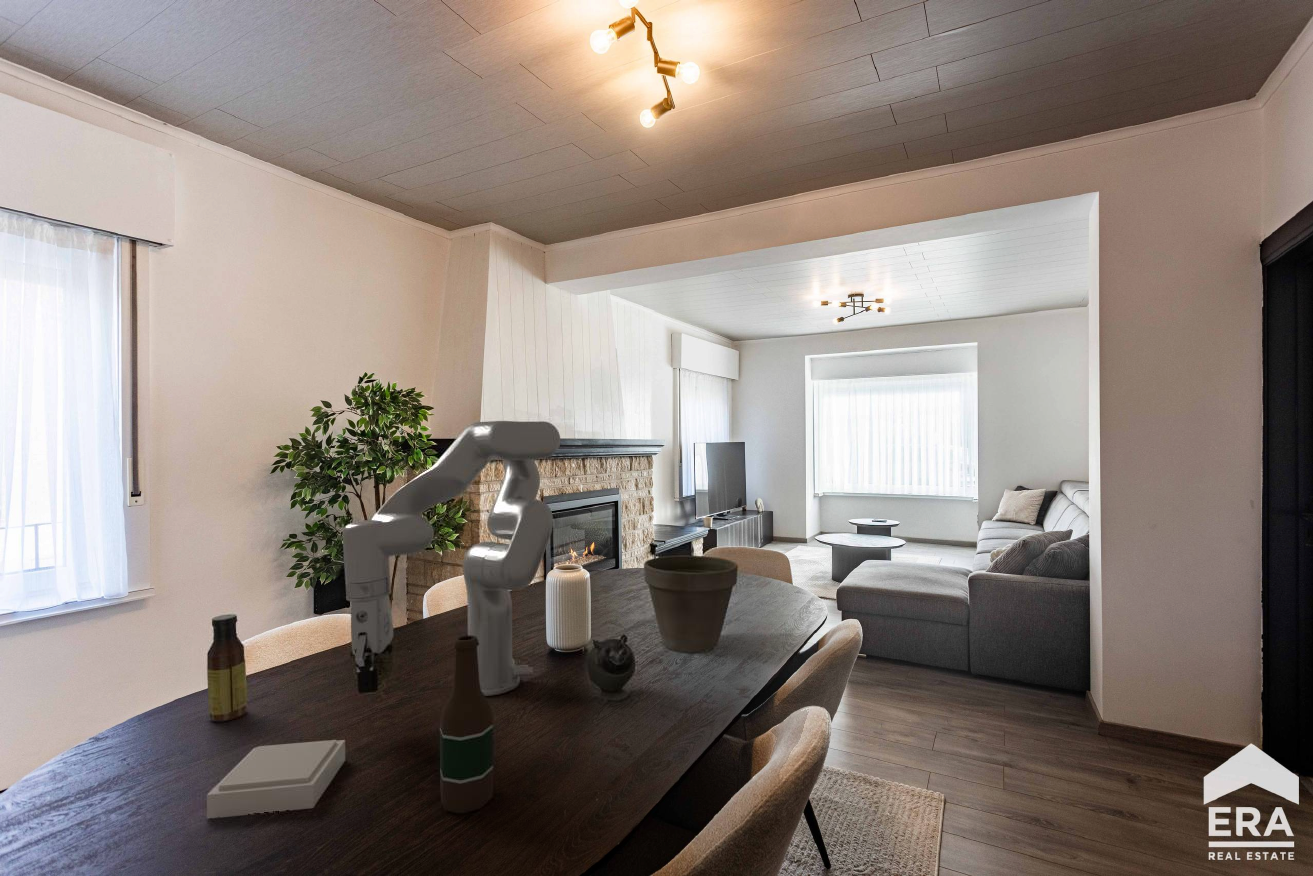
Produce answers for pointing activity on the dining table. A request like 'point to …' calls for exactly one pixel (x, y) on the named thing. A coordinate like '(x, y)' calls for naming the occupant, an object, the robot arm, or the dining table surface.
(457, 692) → the beer bottle
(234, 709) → the sauce bottle
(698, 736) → the dining table surface
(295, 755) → the pedestal
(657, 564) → the plant pot
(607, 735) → the dining table surface
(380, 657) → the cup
